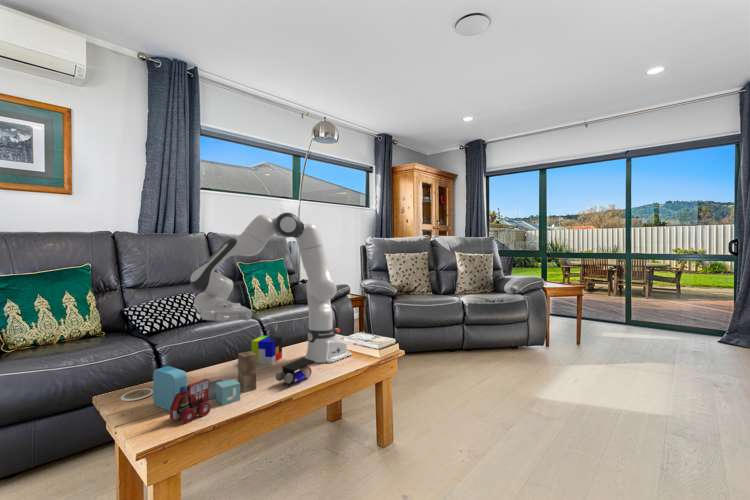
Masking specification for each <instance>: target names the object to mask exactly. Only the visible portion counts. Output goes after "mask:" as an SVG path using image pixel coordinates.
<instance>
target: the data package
mask: <svg viewBox="0 0 750 500" xmlns="http://www.w3.org/2000/svg"><path fill="white" fill-rule="evenodd" d="M152 374H153V375H152V378H153V379H152V384H153V385H152V390H153V391H152V392H153V393H152V394H153V396H152V397H153V404H154V406H157V407H159V408H161V409H164V410H166V411H168V412H170V407H171V405H172V402H173V400H174V398H175V396H176V394H178V393H180V388H181V387H183V386H185V387H187V386H188V384H187V383H188V377H187V376H188V374H187V372H186V371H185V370H182V369H179V368H176V367H174V366H171V365H167V366H163V367H160V368H156V369H154V370H153V372H152ZM186 397H187V396H186ZM187 398H188V397H187Z"/></svg>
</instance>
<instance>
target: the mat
mask: <svg viewBox="0 0 750 500" xmlns="http://www.w3.org/2000/svg"><path fill="white" fill-rule="evenodd" d="M221 381H224V380H223V379H216V380H213V381H211V380H210V387H209V401H212V400H216V383H217V382H221Z"/></svg>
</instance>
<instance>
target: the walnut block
mask: <svg viewBox="0 0 750 500" xmlns="http://www.w3.org/2000/svg"><path fill="white" fill-rule="evenodd" d="M237 359H238V362H237V381H238V382H239V383H240V392H241V391H242V393H248V392H252V391H255V390H257V363H256V354H255V353H253V352H251V350H248V351H243V352H240V353H239V352H238V354H237Z"/></svg>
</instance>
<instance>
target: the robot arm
mask: <svg viewBox="0 0 750 500" xmlns="http://www.w3.org/2000/svg"><path fill="white" fill-rule="evenodd" d="M275 235H277V236H280V237H283V238H294V239H295V240H296V243H297V246H298V249H299V255H300V258H301V262H302V266H303V269H304V270H305V273H306V275H307V276H306V277H307V281H306V282H305V283H306V284H305V285H306V298H307V307H308V328H307V349H306V354H305V357H304V358H306V359H310V360H313V361H314V363H321V364H322V363H326V362H327V363H328V364H331V363H332V362H333V363H336V362H338V361H340V359H341V360H343V359H342V358H344V359H346V358H348V357H347V356H349V355H351V356H352V355H353V354H352V352H351V351H350V350H348V349H347V344H346V342H345V340H343V339H342V338H340V337H339V336H338V335H337V334H336V333H338V334H339V333H340V332H341V331H340V328H338V327H336V328H335V327H333V309H332V304H331V303H332V302H331V300H332V299H333V298H334V297H335V296H336V294H337V292H338V291H337V290H338V289H337V284H336V282H335V279H334V277H333V274H332V271H331V269H330V266H329V263H328V260H327V256H326V252H325V249H324V245H323V240H322V237H321V234H320V231H319V230H318V228H317V226H316V225H315V224H314V223H309V222H308V223H304V222H303V221H302V220H301V219H300V218H299V217H298V216H297V215H296V214H294V213H292V212H283V213H281V214H278V216H277V217H275V218H271V217H270V216H269V215H266V214H258V215H257V216H255V218H254V219H253V220H252V221H250V223H249V224H248V225H247V227H245V228H244V230H243V231H242V232H241V233H240V234H239V235H238V236H235V237H234V238H229V239H227V240H226V241H225V242H224V243H223V244H222V245H221V246H219V248H218V249H217V250H216V251H215V252H214V253H213V254H212V255H211V256H210V257H209V258H207V259H206V260H205V262H203V264H201V265H199V266H198V268H196V269H195V270H193V271H192V273H191V275H190V277H189V283H190V286H191V288H192V290H194V291H197V292H200V293H198V294H197V295H196V296H195V297H194V299H193V304H194V308H195V309H196V313H198V314H200V315H199V316H200V318H202V319H203V320H205V321H215V322H217V323H218V322H228V321H237V320H238V321H242V320H244V321H245V322H248V321H250V320H251V319H252V316H253V311H252V309H250V308H248V307H246V306H243V305H241V303H240V302H234V301H229V300H230V299H231V298H232V296H233V294H234V292H235V291H234V290H235V284H234V281H233V280H232V279H230V278H228V277H227V276H225V275H223V274H220V273H218V272H216V270H217V269H218V268H219V267H220V266H221V265H222V264H223V263H224V262H225V261H226V259H228V258H230V257H232V256H240V257H241V256H242V257H252V256H256V255H258V254H260V253H261V252H262V251H263V249H264V248H265V246H266V245H267V244H268V242H269V241H270V239H272V237H273V236H275ZM345 357H346V358H345ZM349 357H350V356H349ZM337 360H338V361H337ZM335 361H336V362H335ZM333 363H332V364H333Z"/></svg>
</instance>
